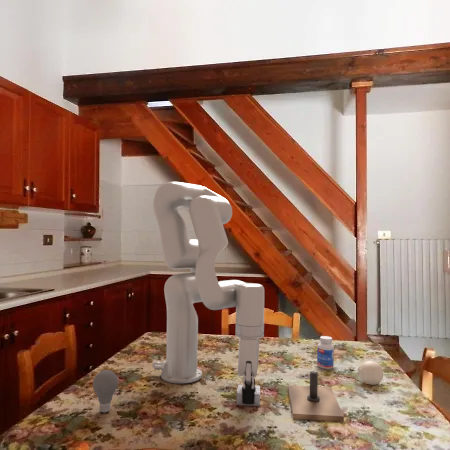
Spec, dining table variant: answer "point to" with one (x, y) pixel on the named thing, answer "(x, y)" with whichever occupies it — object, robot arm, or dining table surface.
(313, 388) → the peg on tan base
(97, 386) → the light bulb
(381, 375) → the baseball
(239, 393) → the link
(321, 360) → the pill bottle
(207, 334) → the dining table surface
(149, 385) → the dining table surface
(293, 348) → the dining table surface
